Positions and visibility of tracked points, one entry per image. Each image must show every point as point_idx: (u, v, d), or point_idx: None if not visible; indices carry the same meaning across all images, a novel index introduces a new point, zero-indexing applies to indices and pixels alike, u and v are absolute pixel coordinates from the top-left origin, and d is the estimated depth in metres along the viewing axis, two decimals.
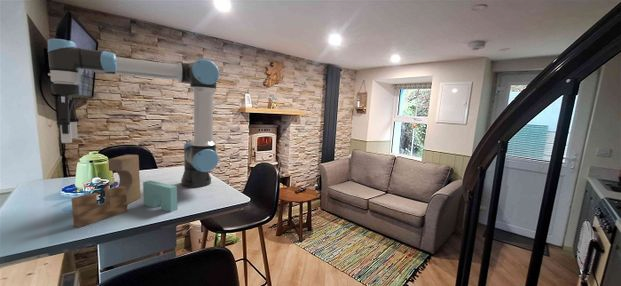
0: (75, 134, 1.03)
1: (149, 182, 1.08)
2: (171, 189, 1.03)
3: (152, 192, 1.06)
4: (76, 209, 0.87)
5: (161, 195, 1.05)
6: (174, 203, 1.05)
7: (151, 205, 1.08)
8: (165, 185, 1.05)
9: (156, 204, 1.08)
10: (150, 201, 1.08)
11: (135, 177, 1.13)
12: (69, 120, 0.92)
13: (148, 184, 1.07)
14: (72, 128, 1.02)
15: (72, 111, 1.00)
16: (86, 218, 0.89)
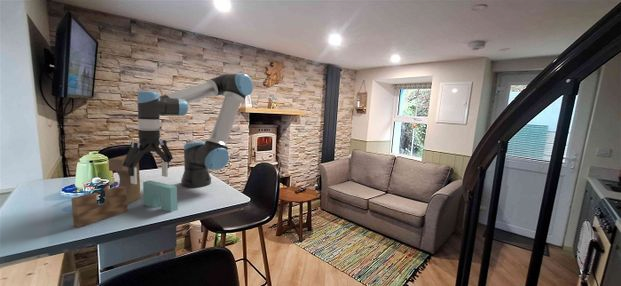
0: (165, 173, 1.13)
1: (149, 182, 1.08)
2: (171, 189, 1.03)
3: (152, 192, 1.06)
4: (76, 209, 0.87)
5: (161, 195, 1.05)
6: (174, 203, 1.05)
7: (151, 205, 1.08)
8: (165, 185, 1.05)
9: (156, 204, 1.08)
10: (150, 201, 1.08)
11: None
12: (135, 164, 1.00)
13: (148, 184, 1.07)
14: (164, 167, 1.13)
15: (159, 153, 1.10)
16: (86, 218, 0.89)
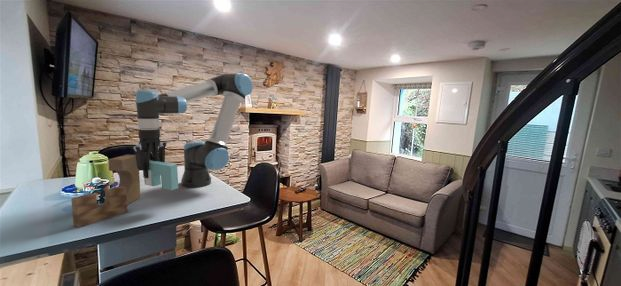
0: None
1: (149, 161, 1.07)
2: (172, 167, 1.02)
3: (153, 170, 1.06)
4: (76, 209, 0.87)
5: (161, 174, 1.04)
6: (175, 181, 1.04)
7: (152, 184, 1.07)
8: (165, 164, 1.04)
9: (157, 183, 1.08)
10: None
11: (135, 177, 1.13)
12: (147, 166, 1.05)
13: None
14: None
15: (155, 154, 1.08)
16: (86, 218, 0.89)
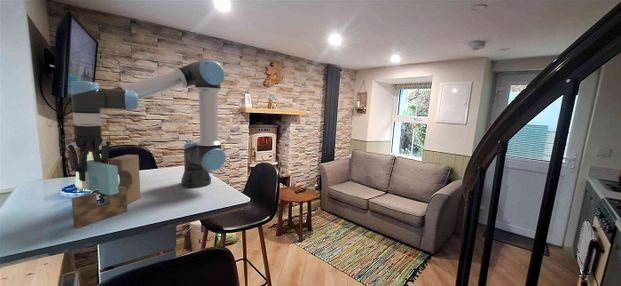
0: None
1: (87, 162, 0.94)
2: (110, 169, 0.89)
3: (90, 172, 0.93)
4: (76, 209, 0.87)
5: (99, 176, 0.91)
6: (114, 185, 0.91)
7: None
8: (104, 165, 0.91)
9: (96, 187, 0.95)
10: None
11: (135, 177, 1.13)
12: (84, 167, 0.92)
13: (86, 164, 0.93)
14: None
15: (95, 154, 0.95)
16: (86, 218, 0.89)
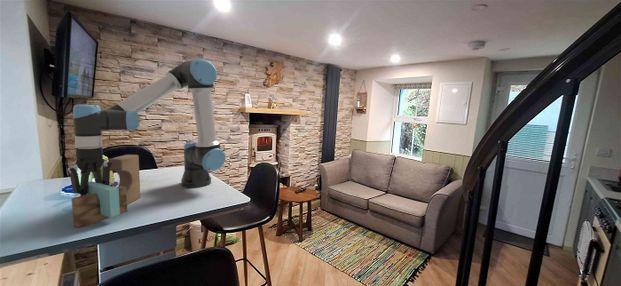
0: None
1: (89, 183, 0.95)
2: (111, 191, 0.90)
3: None
4: (76, 209, 0.87)
5: (100, 198, 0.92)
6: (115, 207, 0.92)
7: None
8: (105, 187, 0.92)
9: None
10: None
11: (135, 177, 1.13)
12: (86, 189, 0.93)
13: None
14: None
15: (96, 176, 0.96)
16: (86, 218, 0.89)
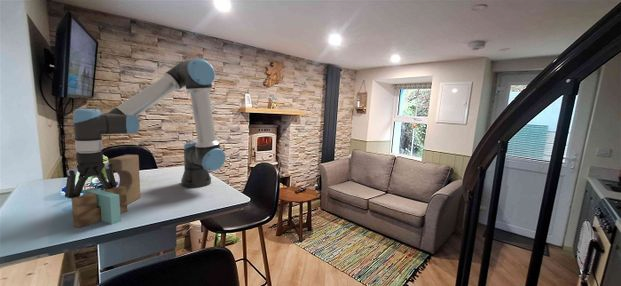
0: None
1: (90, 190, 0.96)
2: (112, 198, 0.91)
3: None
4: (76, 209, 0.87)
5: (101, 205, 0.92)
6: (116, 214, 0.92)
7: None
8: (106, 193, 0.93)
9: None
10: None
11: (135, 177, 1.13)
12: (79, 193, 0.91)
13: (88, 192, 0.95)
14: None
15: (101, 178, 0.98)
16: (86, 218, 0.89)
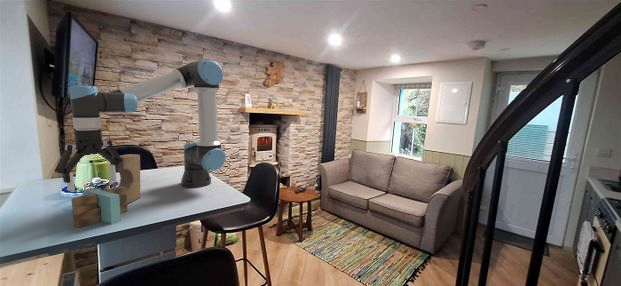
0: (113, 177, 1.01)
1: (90, 190, 0.96)
2: (112, 198, 0.91)
3: None
4: (76, 209, 0.87)
5: (101, 205, 0.92)
6: (116, 214, 0.92)
7: None
8: (106, 193, 0.93)
9: None
10: None
11: (136, 176, 1.13)
12: (70, 169, 0.88)
13: (88, 192, 0.95)
14: (111, 171, 1.01)
15: (103, 155, 0.98)
16: (86, 218, 0.89)
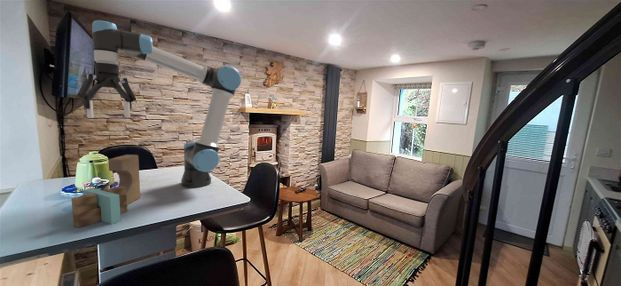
0: (127, 113, 1.09)
1: (90, 190, 0.96)
2: (112, 198, 0.91)
3: None
4: (76, 209, 0.87)
5: (101, 205, 0.92)
6: (116, 214, 0.92)
7: None
8: (106, 193, 0.93)
9: None
10: None
11: (135, 177, 1.13)
12: (90, 96, 0.96)
13: (88, 192, 0.95)
14: (126, 107, 1.09)
15: (120, 91, 1.06)
16: (86, 218, 0.89)
